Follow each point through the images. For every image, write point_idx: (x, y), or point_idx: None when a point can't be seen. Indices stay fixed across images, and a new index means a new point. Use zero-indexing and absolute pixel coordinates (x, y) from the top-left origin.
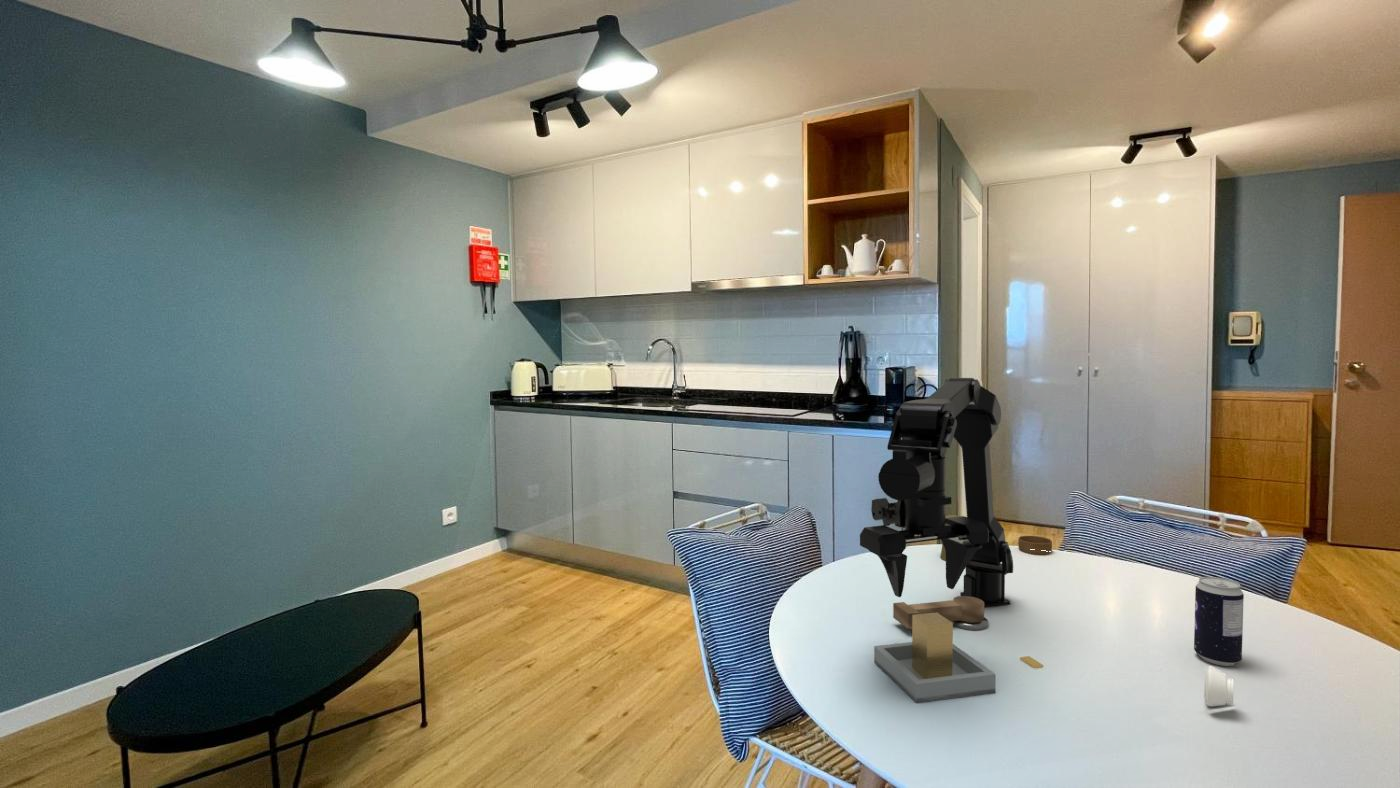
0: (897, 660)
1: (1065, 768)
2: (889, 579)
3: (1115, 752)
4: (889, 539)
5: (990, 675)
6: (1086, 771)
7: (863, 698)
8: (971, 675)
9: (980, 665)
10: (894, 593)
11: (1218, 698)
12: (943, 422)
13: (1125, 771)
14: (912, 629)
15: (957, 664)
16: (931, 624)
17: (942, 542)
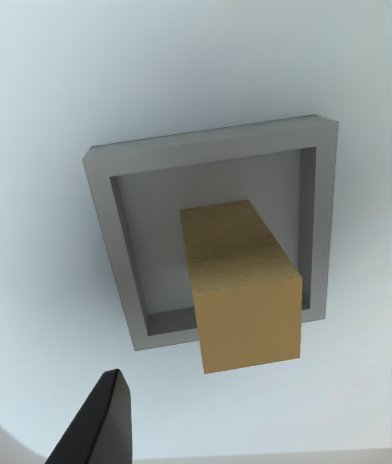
0: (127, 251)
1: (268, 443)
2: (51, 459)
3: (353, 419)
4: None
5: (312, 319)
6: (288, 446)
7: (29, 304)
8: None
9: (320, 285)
10: (101, 379)
11: None
12: None
13: (331, 444)
14: (188, 263)
15: (300, 204)
16: (223, 366)
17: None
